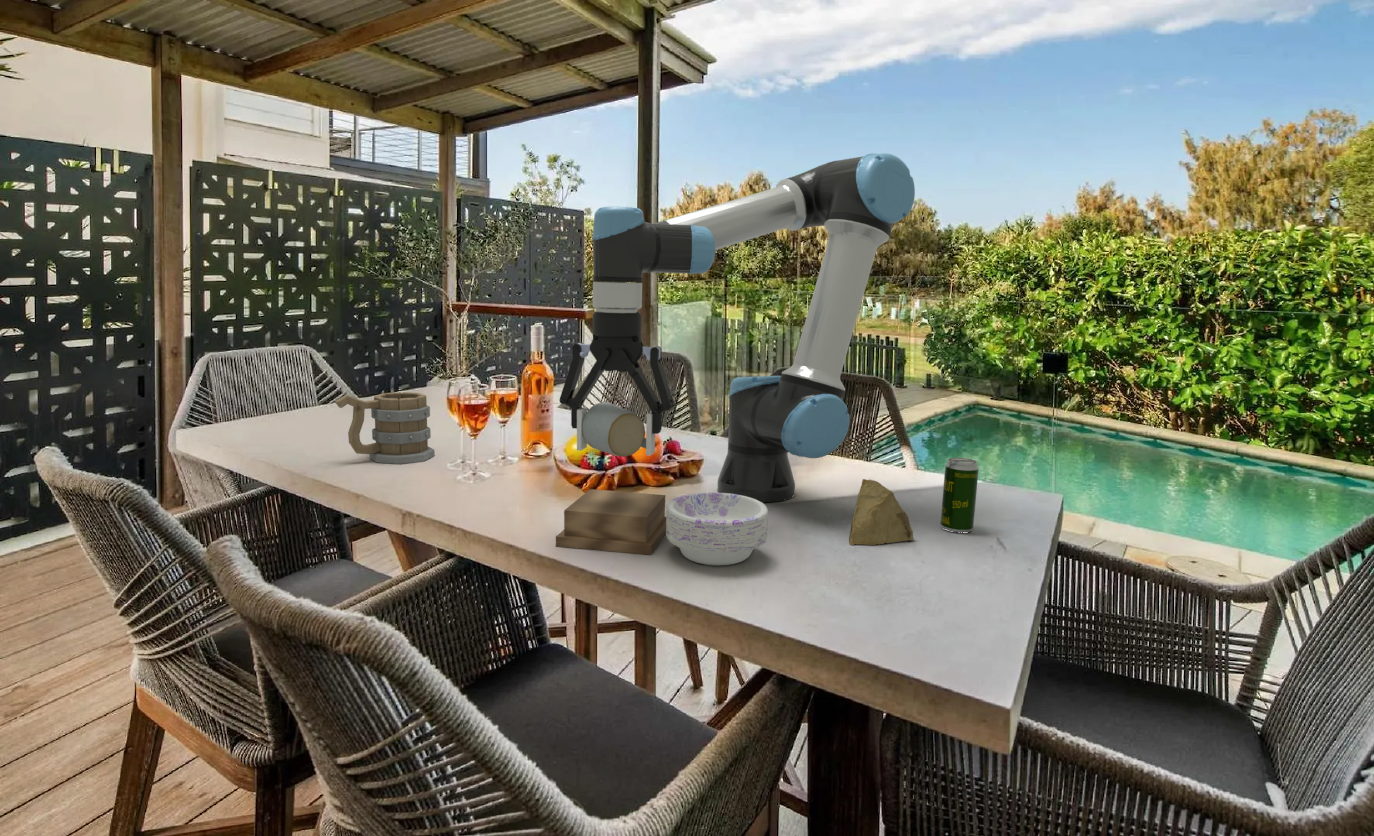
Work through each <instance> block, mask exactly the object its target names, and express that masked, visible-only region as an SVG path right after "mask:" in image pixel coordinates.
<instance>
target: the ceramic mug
mask: <svg viewBox="0 0 1374 836" xmlns="http://www.w3.org/2000/svg"><path fill="white" fill-rule="evenodd" d="M582 434H583V437H584V440H585V441H586V443H587V446H589V447H591V448H592V449H594V450H597V451H600V452H604V453H607V454H609V455H611V456H615V457H630V456H632V455H634V454H636V453H637V452H638V451H639V450H640V448H643V449H645V450H646V428H645V425H644V422H643V420H642V419H641V418H640V416H638V415H637V414H636V413H634V412H632V411H630V410H628V409H625V408H622V407H620V406H618V405H615V404H613V403H611V402H607V401H605V402H604V401H603V402H599V403H596V404H594V405H592V406H591V407H590V408H589V409H587V413H586V414H585V416H584V419H583V422H582Z"/></svg>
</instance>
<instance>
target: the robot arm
mask: <svg viewBox="0 0 1374 836" xmlns="http://www.w3.org/2000/svg"><path fill="white" fill-rule="evenodd" d="M906 164H907V163H905V162H904V161H903V160H902V159H901V158H900V157H898V156H896V155H894V154H891V153H887V152H884V153H873V152H872V153H867V154H865V155H864V156H858V157H857V156H856V157H852V158H851V157H850V158H845V159H840V160H839V159H838V160H832V161H829V162H826V163H824V164H821V165H818V166H816V167H814V168H811V169H808V170H806V171H804V172H801V173H799V174H796V175H793V176H790V177H788V178H784V179H781V180H780V181H778V182H777V184H776V186H775V187H774V188H770V189H766V190H763V191H760V192H756V193H753V194H749V195H745V196H743V197H738V198H735V199H732V200H729V201H726V202H725V201H724V202H722V203H718V204H716V205H715V204H714V205H712V206H708V207H705V208H701V209H697V210H695V211H691V212H688V213H684V214H682V215H677V216H674V217H672V218H671V217H670V218H668V219H663V220H662V221H658V222H653V223H652V222H647V221H645V218H644V217H645V216H644V212H643V210H642V209H640V208H639V207H633V206H632V207H630V206H602V207H599V208H597V210H596V211H595V213H594V218H593V225H592V237H591V238H592V239H591V240H592V260H593V262H592V265H593V266H592V267H593V268H592V270H593V274H592V275H593V277H592V308H594V309H596V311H594V312H593V314H592V340H591V343H583V342H578V343H574V344H573V345H572V347H571V348H572V349H571V350H572V351H571V352H572V359H571V362H570V365H569V369H568V372H567V375H566V377H565V381H564V383H563V387H562V390H561V393H560V396H559V403H560V405H564V406H565V405H566V406H567V407H569V408H570V413H571V415H570V418H571V419H570V420H571V422H570V425H571V428H572V429H576V451H583V450H584V449H586V448H588V444H587V443H586V441H585V440H584V437H583V434H582V422H583V419H584V416H585V414H586V413H587V411H588V407H584V403H585V401H586V399H587V398H588V396H589V395H590V393H591V391H592V390H593V389H594V387H595V385H596V384H597V382H598V381H599V378H601V376H602V374H603V373H604V372H613V371H617V372H619V373H628V375H629V376H630V377H631V378H632V380H633V381H634V384H635V385H636V387H637V389H638V391H639V392H640V394H641V395H642V398H643V399H644V401H645V403H646V404H647V407H648V408H649V409H650V411H649V412H648V413H646V423H645V424H646V425H645V426H646V428H645V438H646V449H645V456H652V455H653V454H654V453H655V452H656V434H657V435H659V434H660V433H661V431H662V426H663V425H662V422H663V418H662V416H663V413H664V412H666V411H669V410H670V409H672V408H673V407H674V405H675V403H674V399H673V396H672V393H671V390H670V386H669V383H668V380H667V375H666V373H665V369H664V366H663V363H662V352H663V351H662V347H661V346H658V345H657V346H644V344H643V341H642V328H643V327H642V324H643V323H642V319H643V318H642V314H641V312H639V310H640V309H642V307H643V306H642V305H643V303H642V302H643V273H649V274H650V273H656V274H657V273H659V274H661V273H662V274H687V275H692V274H704V273H707V272H708V271H709V270H710V269H711V267H712V265H713V263H714V261H715V257H716V251H717V250H720V249H723V248H726V247H730V246H733V245H736V244H737V245H738V244H740V243H743V242H746V241H749V240H752V239H755V238H758V237H762V236H764V235H765V236H766V235H769V234H771V233H776V232H778V231H781V230H783V229H787V230H788V231H792V232H795V231H798V230H801V229H805V228H813V227H824V228H825V229H826V231H827V233H828V235H829V237H828V240H827V244H826V247H825V248H826V249H825V251H824V255H823V257H822V258H823V259H822V261H821V264H820V265H821V266H820V268H819V272H818V276H817V280H816V284H815V286H814V290H813V294H812V297H811V300H810V305H809V306H808V307H809V308H808V311H807V314H806V318H805V321H804V325H803V328H802V332H801V334H800V335H801V336H800V338H799V339H800V340H799V343H798V347H797V349H796V354H795V357H794V360H793V364H792V365H791V366H790V367H788V368H787V369H785V370H783V371H782V372H781V375H762V376H761V375H759V376H756V375H755V376H738V377H735V378H734V379H732V380H731V383H730V388H729V393H728V400H729V405H728V407H729V408H728V412H729V413H728V434H727V435H728V437H727V438H728V440H727V441H728V442H727V454H726V456H725V459H724V462H723V465H722V467H721V470H720V473H719V476H718V479H717V489H716V490H717V493H730V494H737V495H742V496H746V497H750V498H753V499H756V500H758V501H760V502H762V503H771V502H773V503H774V502H775V503H776V502H781V500H782V501H785V500H784V499H786V500H790V499H791V497H792V496H793V495H794V494H796V482H795V479H794V478H795V477H794V474H793V471H792V467H791V463H790V460H789V455H788V453H789V454H790V455H793V456H796V457H802V458H807V459H820V458H823V457H826V456H829V454H830V453H832V452H834V451H835V450H837V449H838V448H839V446H840V445H841V444H842V443H843V441H844V439H845V437H846V436H847V433H848V431H849V429H850V428H849V427H850V418H851V417H850V414H849V413H848V410H849V409H848V406H847V405H846V403H845V402H844V395H845V392H846V388H845V386H844V383H843V382H842V380H841V375H842V371H843V368H844V363H845V362H846V359H847V358H846V357H847V353H848V350H849V347H850V343H851V340H852V337H853V334H854V331H855V326H856V322H857V320H858V315H859V312H860V308H861V307H862V306H861V305H862V302H863V298H864V296H865V295H864V294H865V291H866V288H867V284H868V281H869V279H870V273H871V270H872V268H873V263H874V260H875V257H876V254H877V253H876V252H877V249H878V248H879V247H880V246H882V245H883V244H885V243H886V242H888V241H889V239H890V237H891V232H892V229H893V227H894V226H893V225H894V224H896V223H898V222H899V221H902V220H903V218H905V217H907V216H908V215H909V214H910V211H911V210H912V208H913V207H914V202H915V196H916V192H915V191H916V189H915V181H914V178H913V177H912V175H911V171H910V169H909V166H907V165H906ZM589 352H590V353H591V354H592V356H593V358H594V359H595V363H594V364H593V366H592V367H591V369H590V371H589V373H588V375H587V377H585V380H584V381H583V383H582V385H581V386H580V388H579V389H578V391H577V392H576V394H575V391H576V388H577V387H576V386H577V384H578V382H579V379H580V374H581V371H582V368H583V366H584V363H585V358H586V357H588V356H589ZM643 354H644V355H645V357H646V360H647V361H649V363H650V364H649V365H650V369H651V372H652V375H653V379H654V382H655V386H656V389H657V392H658V396H659V398H658V396H657V395H656V393H655V391H654V390H653V387H652V386H651V384H650V383H649V381H648V379H647V377H646V376H645V374H644V372H643V368H642V367H641V365H640V364H639V362H638V361H639V360H640V359H641V357H642V356H643ZM574 394H575V396H574ZM573 396H574V397H573ZM659 399H660V400H659ZM794 496H795V495H794ZM794 496H793V497H794ZM793 497H792V498H793Z"/></svg>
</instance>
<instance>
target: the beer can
mask: <svg viewBox="0 0 1374 836" xmlns="http://www.w3.org/2000/svg"><path fill="white" fill-rule="evenodd" d="M978 464H979V462H978V461H977V460H976V459H975V460H974V459H973V458H972V459H971V458H965V457H949V458H947V461H946V464H945V466H944V476H943V477H944V479H943V489H942V501H941V515H940V526H942V527H941V528H944V529H947V530H949V531H953V532H960V533H961V532H962V533H963V532H970V531H971V530H972V531H973V529H974V525H975V523H974V522H975V512H976V503H977V493H978V492H977V490H978V479H979V471H980V470H979V469H980V468H979V466H978ZM972 531H971V532H972ZM971 532H970V533H971ZM960 533H959V534H960Z"/></svg>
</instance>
